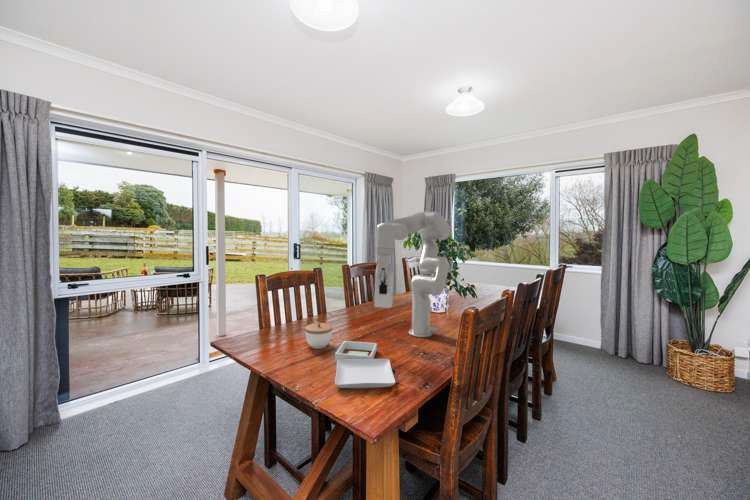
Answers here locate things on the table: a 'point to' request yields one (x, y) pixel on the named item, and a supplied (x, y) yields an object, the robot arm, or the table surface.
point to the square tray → (355, 346)
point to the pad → (358, 353)
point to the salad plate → (364, 373)
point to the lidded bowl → (318, 335)
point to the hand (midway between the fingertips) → (384, 291)
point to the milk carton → (387, 299)
